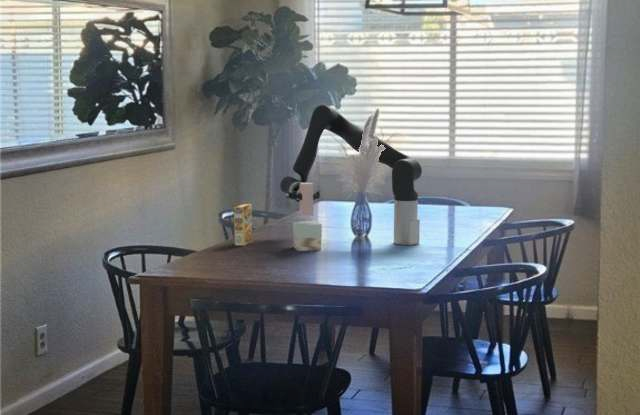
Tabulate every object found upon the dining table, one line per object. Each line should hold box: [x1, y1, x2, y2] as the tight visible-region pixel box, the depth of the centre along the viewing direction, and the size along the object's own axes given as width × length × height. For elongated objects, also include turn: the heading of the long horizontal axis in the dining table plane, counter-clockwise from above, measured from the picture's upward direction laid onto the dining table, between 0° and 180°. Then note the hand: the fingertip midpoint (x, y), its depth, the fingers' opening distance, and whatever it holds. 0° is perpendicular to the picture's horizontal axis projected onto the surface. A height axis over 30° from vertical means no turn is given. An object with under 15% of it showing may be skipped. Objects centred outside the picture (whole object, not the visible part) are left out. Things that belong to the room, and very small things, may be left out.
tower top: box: [292, 220, 323, 239], centre depth 363 cm, size 9×9×5 cm
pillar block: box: [299, 182, 314, 217], centre depth 361 cm, size 4×4×12 cm
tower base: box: [293, 235, 322, 252], centre depth 363 cm, size 9×9×5 cm
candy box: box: [233, 203, 253, 247], centre depth 372 cm, size 9×4×15 cm, turn 163°
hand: (307, 197), depth 358 cm, fingers closed on pillar block, 4 cm apart
